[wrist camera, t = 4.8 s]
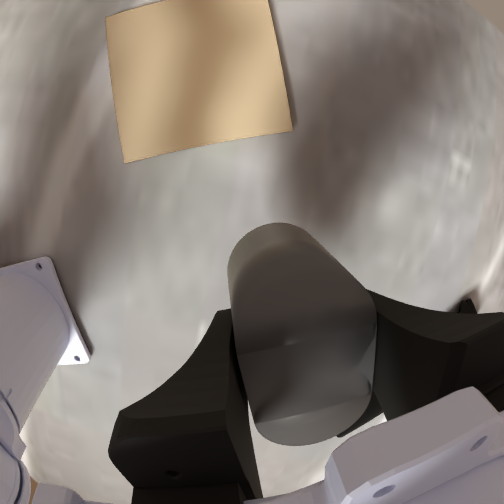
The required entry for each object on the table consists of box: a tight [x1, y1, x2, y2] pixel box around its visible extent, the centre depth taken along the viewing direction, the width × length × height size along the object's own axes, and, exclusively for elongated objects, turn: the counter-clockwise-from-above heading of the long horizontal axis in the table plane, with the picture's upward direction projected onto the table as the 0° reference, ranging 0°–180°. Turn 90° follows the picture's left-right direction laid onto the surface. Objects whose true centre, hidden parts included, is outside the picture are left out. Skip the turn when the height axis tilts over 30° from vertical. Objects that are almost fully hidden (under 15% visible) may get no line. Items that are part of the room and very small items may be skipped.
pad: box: [105, 0, 293, 163], centre depth 14 cm, size 9×9×1 cm
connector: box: [228, 223, 377, 446], centre depth 11 cm, size 9×4×5 cm, turn 9°
